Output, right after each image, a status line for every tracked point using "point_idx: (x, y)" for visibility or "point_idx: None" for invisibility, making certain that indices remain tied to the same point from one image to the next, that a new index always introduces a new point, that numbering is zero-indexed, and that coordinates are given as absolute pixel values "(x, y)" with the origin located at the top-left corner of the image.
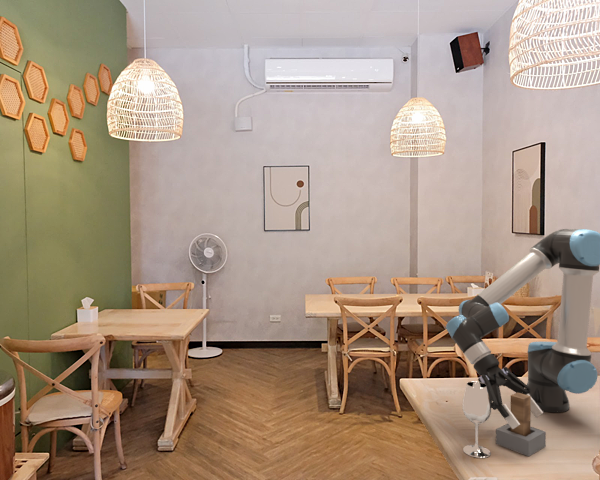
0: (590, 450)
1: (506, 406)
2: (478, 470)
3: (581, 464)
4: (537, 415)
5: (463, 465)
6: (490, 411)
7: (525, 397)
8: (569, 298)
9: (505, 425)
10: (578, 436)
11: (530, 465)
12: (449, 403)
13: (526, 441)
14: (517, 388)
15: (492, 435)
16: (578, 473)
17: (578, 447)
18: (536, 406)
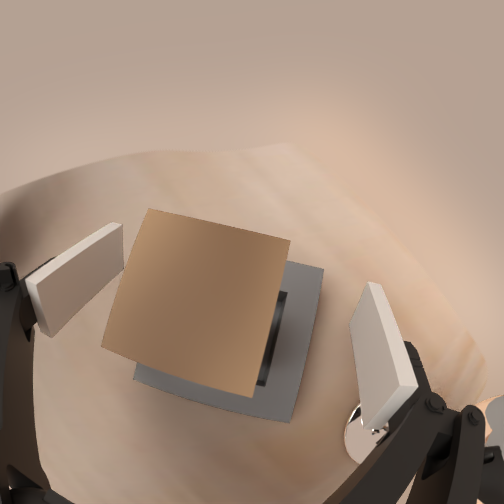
0: (149, 156)
1: (402, 367)
2: (469, 363)
3: (254, 157)
4: (122, 255)
5: (467, 403)
6: (502, 398)
7: (218, 237)
8: None
9: (216, 400)
10: (74, 197)
11: (364, 264)
12: None
13: (320, 279)
14: (15, 358)
15: (214, 439)
16: (313, 157)
17: (144, 180)
18: (97, 243)
